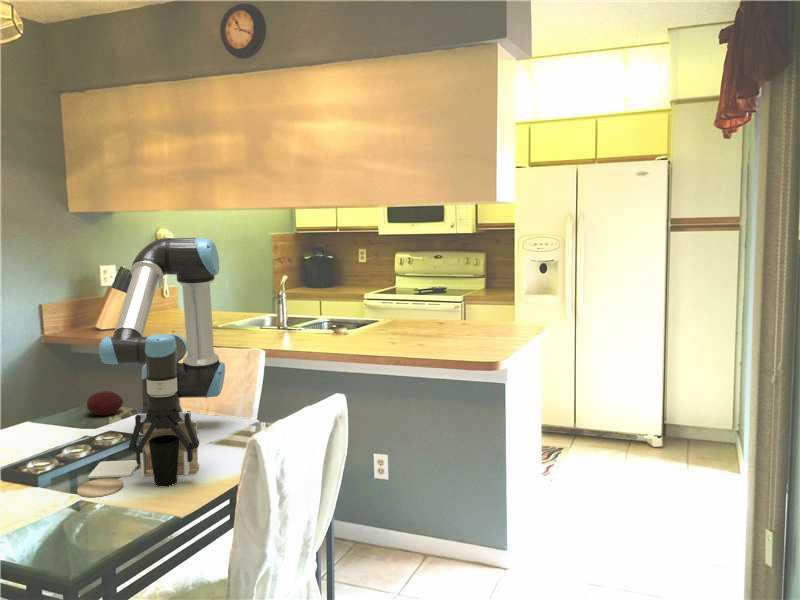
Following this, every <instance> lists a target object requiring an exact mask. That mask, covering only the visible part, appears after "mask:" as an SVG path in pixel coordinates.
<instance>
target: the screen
mask: <svg viewBox="0 0 800 600" xmlns="http://www.w3.org/2000/svg"><path fill="white" fill-rule="evenodd" d="M191 421H192V420H191ZM178 424H179V426H180V428H181V429H182V431H183V432H184V433H185V435H186V436H187V438H188V439H189V440H190V442H191V443H192V441H191V439H190V436H189V433H188V431H187V428H186V426H185V422H178ZM192 424H193V427H194V429H195V432H196V435H197V436H198V426H197V425H198V423H197V421H196V420H193V421H192ZM150 425H151V423H144V424H143V432H144V434H143V437H144V436H145V434H146V432H147V431H148V429H149V427H150ZM161 435H175V436H177V435H176V434H175V432H174V431H172V429H171V428H169V429H165V428H162V429H157V428H155V429H154V430H153V432H152V434H151V435H150V437H149V439H148V440H147V442H146V444H145V445H144V447H143V450H146V471H147V473H146V475H153V468H152V461H151V454H150V447H149V440H150V439H152V438H154V437H157V436H161ZM198 448H199V447H198ZM198 448H195V449H193V459H192V461H191V462H189V473H188V475H193V474H194V475H195V474H197V473H198V470H199V468H200V463H199V456H198V455H199V454H198V451H199V450H198ZM185 449H186V448H185V447H184V445H183V444H182V442H181V441H180V440H179V453H178V469H177V475H185V471H184V450H185ZM146 475H145V476H144V477H147V476H146ZM153 476H154V475H153Z"/></svg>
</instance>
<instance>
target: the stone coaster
mask: <svg viewBox="0 0 800 600" xmlns="http://www.w3.org/2000/svg"><path fill="white" fill-rule="evenodd" d="M139 465H140V464H137V461H136V459H133V460H131V459H130V460H127V459H126V460H109V461H106V460H104V461H100V462H99V463H98V464H97V465H96V466H95V467H94V469H92V471H91V472H90V473H89V475H87V479H103V478H126V477H127V478H129V477H131V476H132V475H133V473H134V472H135V471H136V469H137V467H138V466H139Z"/></svg>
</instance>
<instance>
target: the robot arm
mask: <svg viewBox="0 0 800 600" xmlns="http://www.w3.org/2000/svg"><path fill="white" fill-rule="evenodd" d="M219 273H220V258H219V253H218V249H217V246H216V244H215V243H214V241H213V240H211V239H210V238H200V237H175V238H174V237H161V238H158V239H156V240H153V241H152V242H150V243H148V244H147V245H145V246H144V248H142V249H141V250H140V252H138V254H137V255H136V256H135V258H134V260H133V262H132V265H131V268H130V275H131V279H130V283H129V285H128V287H127V291H126V294H125V297H124V300H123V304H122V307H121V310H120V313H119V316H118V319H117V322H116V326H115V327H114V328H115V329H114V332H113V335H112V336H104V337H103V338H102V339H101V340H100V342H99V346H98V347H99V348H98V354H99V358H100V361H101V362H102V363H103V364H105V365H116V366H117V365H118V366H119V365H143V366H142V368H141V377H140V380H141V389H142V391H141V392H142V410H141V412H138V413H137V414H136V415H135V418H134V421H135V425H134V429H133V432H132V435H131V438H130V442H129V446H128V452H135V456H136V457H135V460H136V461H137V464H139V465H140V478H144V477H146V476H145V475H146V473H147V471H146V450H144V445H145V444H146V442H147V440H148V439H149V437H150V435H151V434H152V432H153V430H154V429H155V428H157V429H162V428H165V429H169V428H171V429H172V431H174V432H175V434H176V435H177V437H178V438H179V440H180V441H181V442H182V444H183V445H184V447H185V448H186V449H185V450H184V471H185V474H184V476H188V475H189V474H188V473H189V462H191V461H192V459H193V449H195V448H199V446H200V440H199V438H198V434H197V435H196V432H195V429H194V427H193V424H192V416H191V415H192V413H191V411H190V410H188V411H185V412H184V411H183V409H182V406H181V403H180V399H181V398H182V399H184V398H186V399H187V398H188V399H189V398H190V399H191V398H195V399H196V398H197V399H198V398H206V399H207V398H213V397H214V398H215V397H218V396H220V395H221V393H222V390H223V387H224V383H225V373H226V364H225V362H222V361H220V356H219V354H216V353H215V345H214V332H213V331H214V329H213V328H214V327H213V326H214V325H213V310H212V293H211V284H212V283H213V282H214V280H215V276H216V275H218V274H219ZM166 275H171V276H173V275H174V276H176V281H177V283H179V284H180V285H181V286H182V298H183V311H184V313H183V314H184V328H185V338H184V337H183V336H182V335H179V334H177V333H172V334H167V333H165V334H162V333H160V334H153V335H150V336H149V335H148V336H143V335H144V331H145V329H146V324H147V321H148V318H149V315H150V311H151V308H152V304H153V300H154V297H155V294H156V290H157V287H158V284H159V283H160V282H161V281H162V280H163V278H164V276H166ZM181 360H182V362H180V361H181ZM178 422H185V426H186V428H187V431H188V433H189V436H190V439H191V441H192V443H191V442H190V440H189V439H188V438H187V436H186V435H185V433H184V432H183V431H182V429H181V428H180V426H179V424H178ZM144 423H151V425H150V427H149V429H148V431H147V432H146V434H145V436H144V432H143V424H144ZM140 433H141V434H143V437H142V439H141V440H140V443H139V444H137V442H138V439H139V436H140Z"/></svg>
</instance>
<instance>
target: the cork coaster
mask: <svg viewBox="0 0 800 600" xmlns="http://www.w3.org/2000/svg"><path fill="white" fill-rule="evenodd" d="M123 488H124V481H123V480H122V479H120V478H116V477H109V478H96V479H92V480H90V481H87V482H84V483H83V484H81V485H80V486H78V487H77V489H76V490H77V492H76V493H77V495H78V496H80V497H84V498H101V497H107V496H110V495H113V494H115V493H118V492H119V491H121V490H122V489H123Z"/></svg>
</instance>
